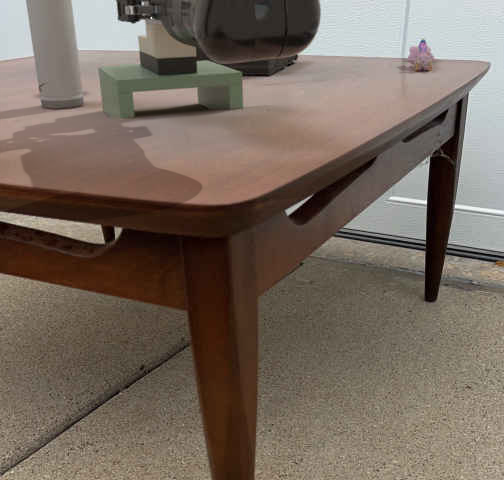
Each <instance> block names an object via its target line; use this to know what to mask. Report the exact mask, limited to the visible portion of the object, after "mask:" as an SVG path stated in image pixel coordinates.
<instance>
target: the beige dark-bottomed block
mask: <svg viewBox="0 0 504 480" xmlns="http://www.w3.org/2000/svg"><path fill="white" fill-rule="evenodd" d="M144 22H145V34H141V35H137V38H138V39H137V40H138V41H137V42H138V52H139V63H140V65H141V66H142V67H144V68H146V69H148V70H150V71H151V72H153V73H155V74H157V75H175V74H191V73H197V60H196V47H193V46H190V45H186V44H183V43H181V42H179V41H177V40H175V39H174V38H173V37H171V36H170V35H169V33H168V32H167V31H166V29H165V28H164V26H163V25H151V24H147V23H146V21H145V20H144Z"/></svg>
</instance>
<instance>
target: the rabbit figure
mask: <svg viewBox="0 0 504 480" xmlns="http://www.w3.org/2000/svg"><path fill="white" fill-rule="evenodd" d="M408 50H409V53H410V54H409V55H408V56H407V59H405V62H406V63H410V64H411V65H412V66H413V69H414V71H415V72H416V73H417V72H419V71H425V70H429V71H432V70H433V62H435V63H439V62H440V59H438V58H435V57H434V55H433V54H432V52H431V51H432V49H431V47H430V46H428V45H427V41H426V39H425V38H422V39H421V40H420V42H419V44H418V45H417V46H415V45H412V46H410V47H409V49H408ZM417 70H418V71H417Z"/></svg>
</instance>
